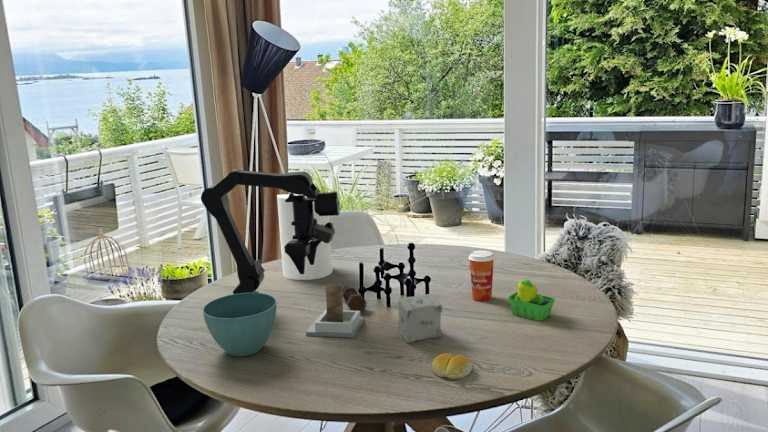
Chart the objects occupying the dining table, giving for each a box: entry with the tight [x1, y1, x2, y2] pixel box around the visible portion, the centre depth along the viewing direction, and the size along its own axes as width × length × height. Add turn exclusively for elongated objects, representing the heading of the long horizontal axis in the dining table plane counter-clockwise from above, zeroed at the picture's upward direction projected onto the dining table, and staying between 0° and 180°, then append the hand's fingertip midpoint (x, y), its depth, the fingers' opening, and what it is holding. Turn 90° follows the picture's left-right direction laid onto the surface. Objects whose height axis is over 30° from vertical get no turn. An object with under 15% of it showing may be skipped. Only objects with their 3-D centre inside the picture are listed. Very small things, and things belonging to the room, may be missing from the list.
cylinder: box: [276, 193, 333, 281], centre depth 236 cm, size 17×17×28 cm
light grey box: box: [397, 293, 443, 344], centre depth 177 cm, size 10×8×10 cm
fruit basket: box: [507, 278, 556, 322], centre depth 189 cm, size 11×9×11 cm
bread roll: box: [431, 352, 473, 380], centre depth 157 cm, size 8×9×4 cm
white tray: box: [305, 309, 365, 338], centre depth 186 cm, size 13×12×4 cm
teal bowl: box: [202, 292, 277, 357], centre depth 173 cm, size 18×18×12 cm
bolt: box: [342, 285, 367, 313], centre depth 205 cm, size 6×5×15 cm
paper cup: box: [468, 250, 496, 303], centre depth 204 cm, size 8×8×14 cm
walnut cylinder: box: [325, 282, 344, 322], centre depth 185 cm, size 4×4×11 cm
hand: (307, 269), depth 197 cm, fingers open, 9 cm apart
